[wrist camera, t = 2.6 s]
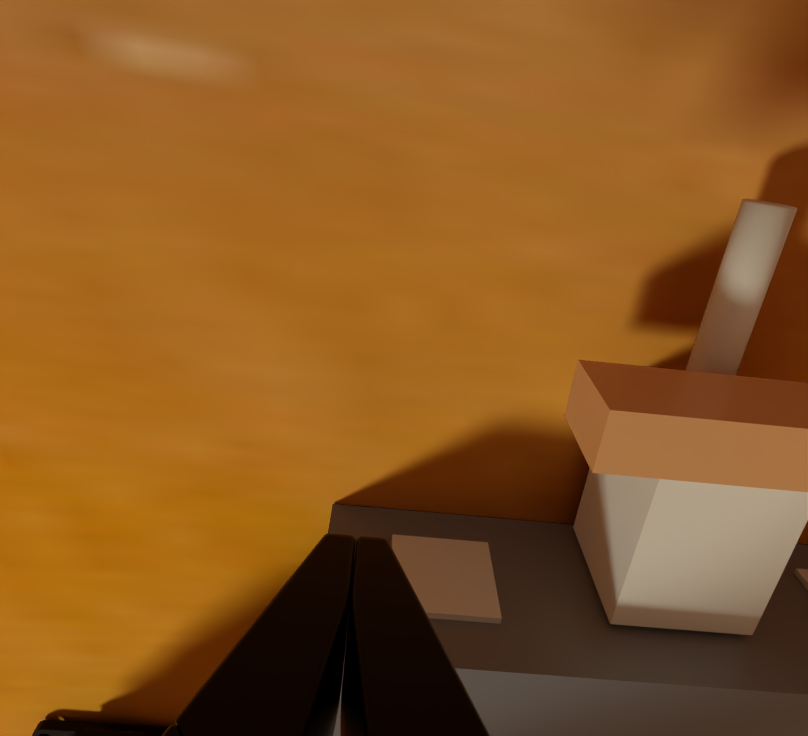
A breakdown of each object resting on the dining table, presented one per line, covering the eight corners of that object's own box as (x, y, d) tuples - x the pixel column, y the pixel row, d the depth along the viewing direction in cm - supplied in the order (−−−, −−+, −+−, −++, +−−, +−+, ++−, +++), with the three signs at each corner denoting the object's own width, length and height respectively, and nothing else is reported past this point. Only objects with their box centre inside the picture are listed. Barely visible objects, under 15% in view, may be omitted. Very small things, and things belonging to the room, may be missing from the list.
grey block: (817, 707, 25) (935, 884, 19) (321, 670, 24) (296, 845, 18) (910, 549, 21) (1085, 709, 16) (333, 499, 20) (307, 651, 15)
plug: (690, 537, 20) (752, 635, 17) (572, 527, 20) (610, 623, 17) (818, 204, 16) (942, 239, 12) (668, 186, 16) (748, 218, 12)
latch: (858, 443, 16) (935, 503, 14) (563, 415, 16) (591, 472, 14) (884, 389, 16) (970, 444, 13) (578, 360, 15) (610, 410, 13)
